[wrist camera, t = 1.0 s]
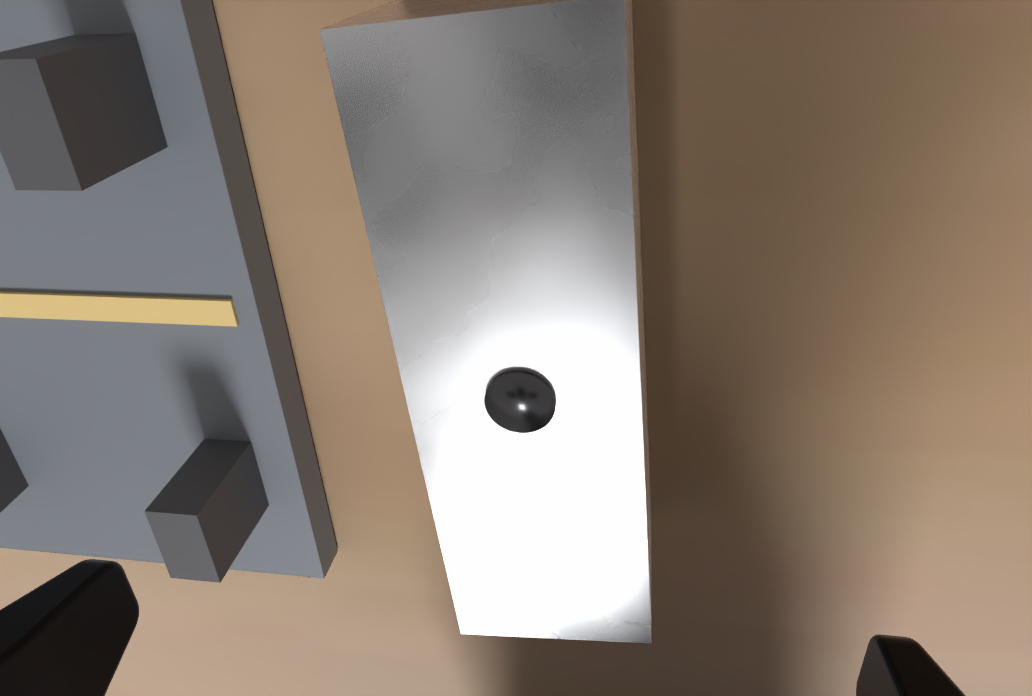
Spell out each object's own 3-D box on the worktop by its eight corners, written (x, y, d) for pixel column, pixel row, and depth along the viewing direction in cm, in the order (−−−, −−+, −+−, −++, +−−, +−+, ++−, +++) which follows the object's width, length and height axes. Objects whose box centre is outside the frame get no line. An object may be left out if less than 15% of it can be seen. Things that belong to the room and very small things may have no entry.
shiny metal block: (651, 507, 18) (651, 648, 15) (493, 504, 19) (460, 638, 16) (630, -31, 12) (623, -6, 9) (403, -3, 13) (316, 30, 10)
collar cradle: (338, 550, 21) (285, 660, 18) (19, 522, 22) (-80, 618, 19) (179, -139, 12) (31, -152, 9) (-310, -108, 14) (-568, -109, 11)
